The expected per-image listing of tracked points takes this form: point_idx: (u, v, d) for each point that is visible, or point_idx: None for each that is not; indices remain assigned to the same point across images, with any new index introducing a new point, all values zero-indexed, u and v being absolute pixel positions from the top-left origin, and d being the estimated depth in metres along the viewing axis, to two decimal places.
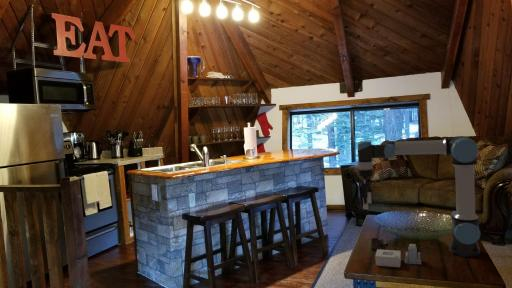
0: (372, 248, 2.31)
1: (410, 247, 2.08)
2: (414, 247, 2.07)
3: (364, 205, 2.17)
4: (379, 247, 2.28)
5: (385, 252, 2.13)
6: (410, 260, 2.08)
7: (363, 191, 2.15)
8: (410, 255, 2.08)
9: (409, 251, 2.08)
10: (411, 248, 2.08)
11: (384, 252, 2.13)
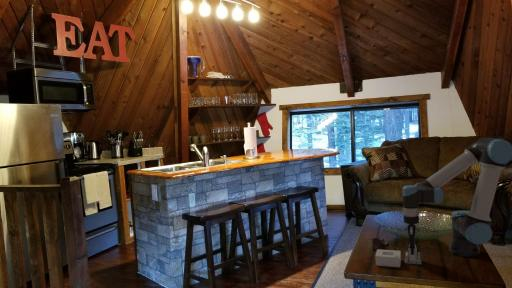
0: (373, 248, 2.31)
1: None
2: None
3: (411, 256, 2.07)
4: (380, 247, 2.27)
5: (385, 252, 2.13)
6: (410, 260, 2.08)
7: (410, 243, 2.03)
8: None
9: (409, 251, 2.08)
10: None
11: (384, 252, 2.13)
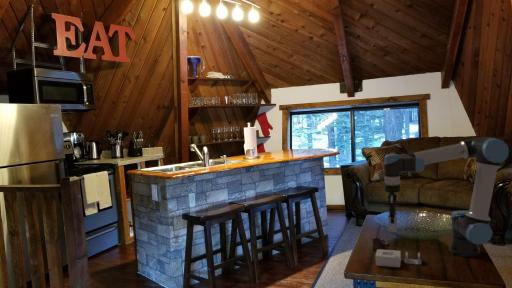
0: (373, 248, 2.31)
1: None
2: None
3: (391, 225, 2.06)
4: (380, 247, 2.27)
5: (385, 252, 2.13)
6: (390, 229, 2.08)
7: (390, 211, 2.03)
8: None
9: (389, 220, 2.07)
10: None
11: (384, 252, 2.13)
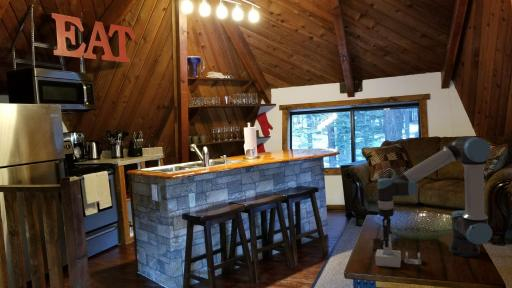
0: (374, 248, 2.30)
1: None
2: None
3: (385, 249, 2.04)
4: (381, 247, 2.27)
5: None
6: None
7: (384, 234, 2.02)
8: (385, 253, 2.09)
9: None
10: None
11: None
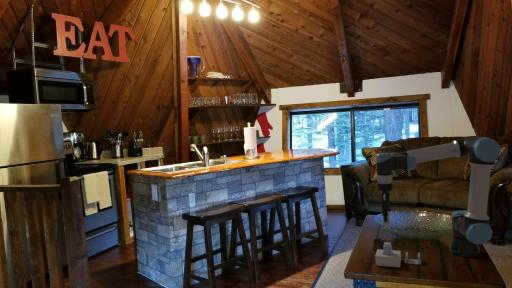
0: (375, 248, 2.30)
1: (385, 245, 2.09)
2: (389, 245, 2.08)
3: (384, 223, 2.04)
4: (382, 247, 2.27)
5: None
6: None
7: (383, 209, 2.01)
8: (385, 253, 2.09)
9: (384, 249, 2.09)
10: (386, 246, 2.08)
11: None
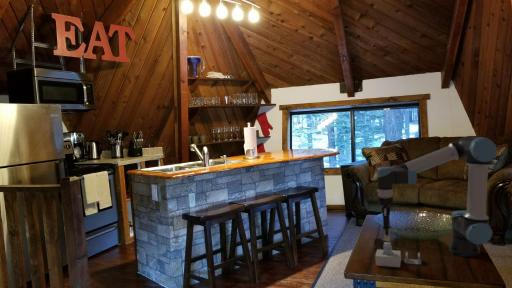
0: (375, 249, 2.30)
1: (385, 245, 2.09)
2: (389, 245, 2.08)
3: (385, 236, 2.09)
4: (382, 248, 2.27)
5: None
6: None
7: (384, 224, 2.05)
8: (385, 253, 2.09)
9: (384, 249, 2.09)
10: (386, 246, 2.08)
11: None
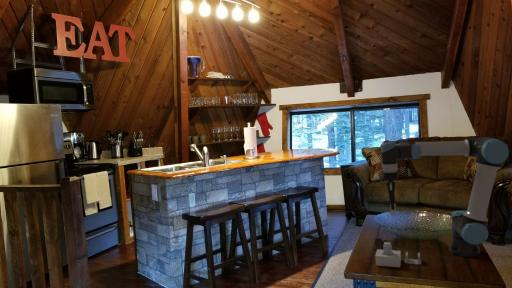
0: (376, 249, 2.30)
1: (385, 245, 2.09)
2: (389, 245, 2.08)
3: (391, 211, 2.11)
4: (382, 248, 2.26)
5: None
6: None
7: (390, 198, 2.07)
8: (385, 253, 2.09)
9: (384, 249, 2.09)
10: (386, 246, 2.08)
11: None
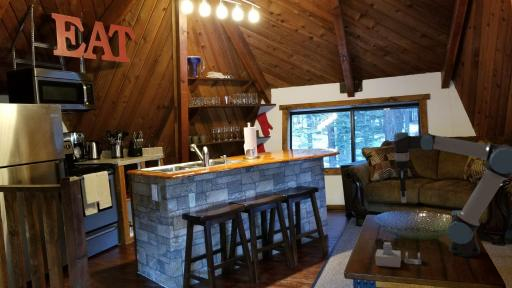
0: (376, 249, 2.30)
1: (385, 245, 2.09)
2: (389, 245, 2.08)
3: (402, 198, 2.21)
4: None
5: None
6: None
7: (401, 185, 2.17)
8: (385, 253, 2.09)
9: (384, 249, 2.09)
10: (386, 246, 2.08)
11: None
